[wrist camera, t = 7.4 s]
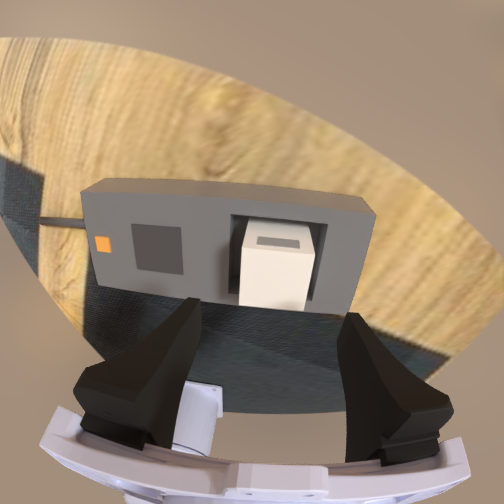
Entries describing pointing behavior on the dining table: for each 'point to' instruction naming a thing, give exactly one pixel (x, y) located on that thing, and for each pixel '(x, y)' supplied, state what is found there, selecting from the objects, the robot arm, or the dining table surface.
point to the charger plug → (276, 263)
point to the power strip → (215, 237)
